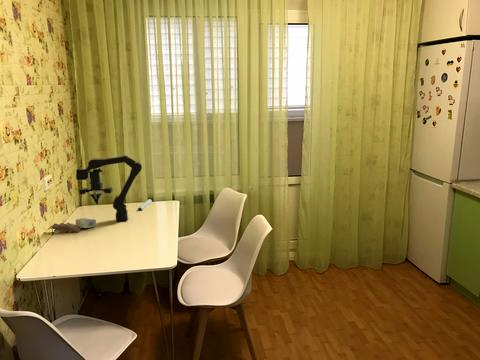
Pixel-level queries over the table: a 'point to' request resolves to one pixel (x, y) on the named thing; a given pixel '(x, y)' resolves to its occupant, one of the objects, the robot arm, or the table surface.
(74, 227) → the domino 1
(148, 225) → the table surface
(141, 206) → the white black-tipped bar
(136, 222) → the table surface
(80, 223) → the medicine box
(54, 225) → the domino
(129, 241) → the table surface
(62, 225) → the domino
